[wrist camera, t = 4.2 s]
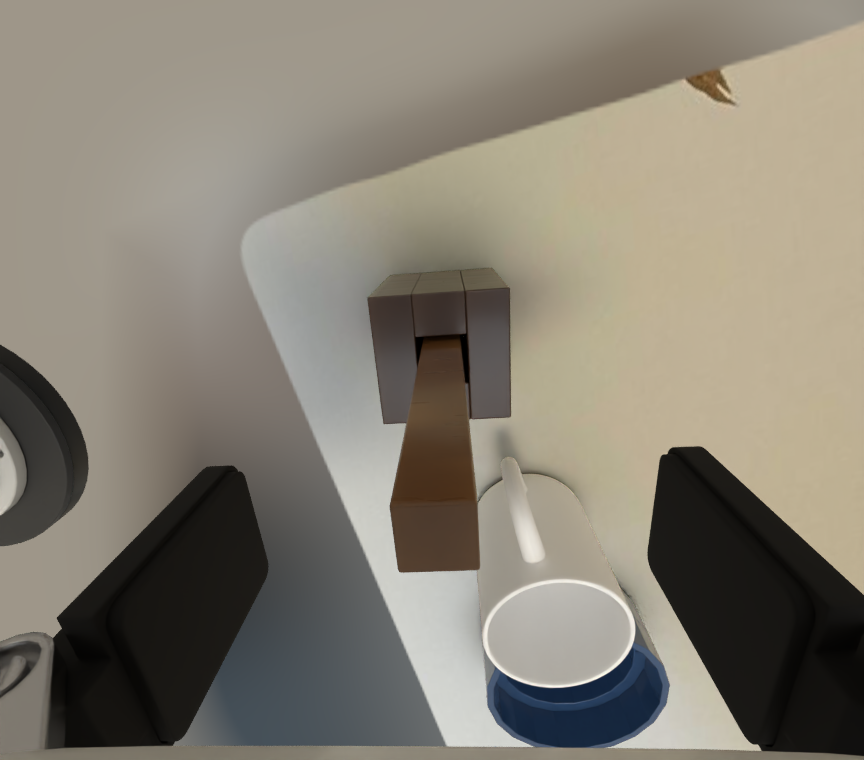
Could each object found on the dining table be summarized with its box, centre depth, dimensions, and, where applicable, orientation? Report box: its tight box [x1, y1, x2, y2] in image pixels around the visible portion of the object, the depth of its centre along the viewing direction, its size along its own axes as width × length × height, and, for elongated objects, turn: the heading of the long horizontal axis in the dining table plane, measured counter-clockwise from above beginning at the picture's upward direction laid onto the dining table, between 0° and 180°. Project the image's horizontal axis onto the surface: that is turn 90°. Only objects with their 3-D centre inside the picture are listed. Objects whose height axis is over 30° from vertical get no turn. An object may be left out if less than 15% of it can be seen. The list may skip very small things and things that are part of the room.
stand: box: [367, 268, 511, 424], centre depth 24 cm, size 6×6×8 cm
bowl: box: [482, 588, 670, 748], centre depth 34 cm, size 13×13×6 cm
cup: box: [477, 457, 635, 688], centre depth 27 cm, size 8×12×10 cm
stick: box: [390, 334, 480, 572], centre depth 18 cm, size 2×2×20 cm
